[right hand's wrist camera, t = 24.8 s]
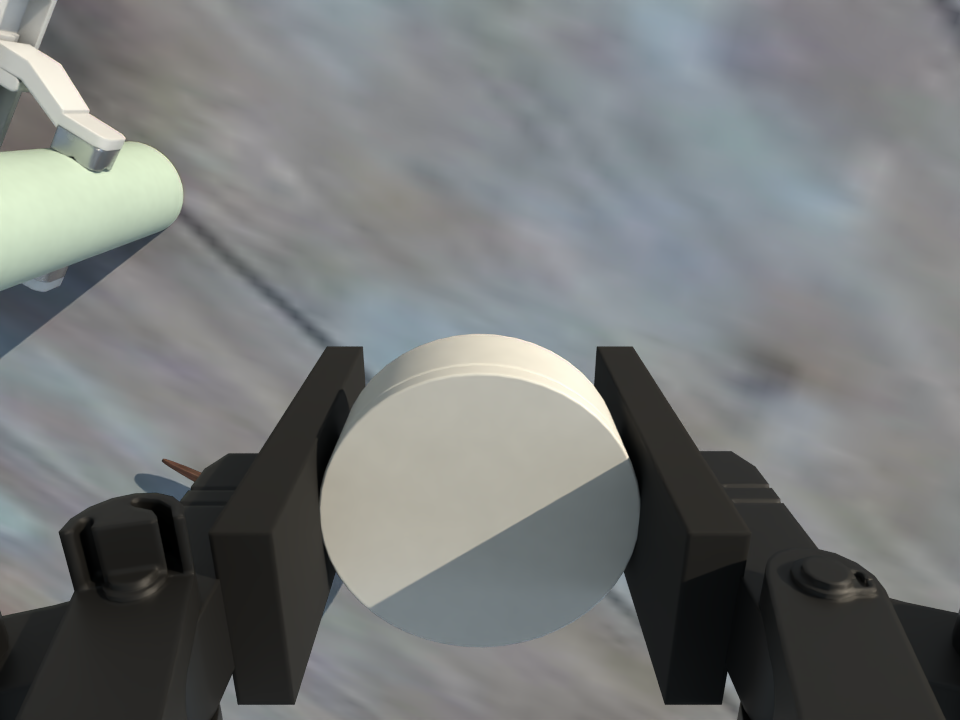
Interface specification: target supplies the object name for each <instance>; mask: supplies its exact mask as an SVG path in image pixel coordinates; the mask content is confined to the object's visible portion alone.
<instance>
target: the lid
mask: <svg viewBox="0 0 960 720" xmlns="http://www.w3.org/2000/svg"><path fill="white" fill-rule="evenodd" d="M640 503H641V499H640V492H639V486H638V481H637V478H636V475H635V471H634V468H633V465H632V463H631V460H630V458H629V456H628V454H627V451H626V449H625V446H624V444H623V442H622V439H621V437H620V435H619V432H618V430H617V428H616V425H615V423H614V421H613V418H612V416H611V414H610V412H609V410H608V408H607V406H606V404H605V402H604V400H603V398H602V397H601V396H600V394H599V393H598V391H597V390H596V388H595V387H594V385H593V384H592V383H591V382H590V381H589V380H588V379H587V378H586V377H585V376H584V375H583V374H582V373H581V372H580V371H579V370H578V369H576V368H575V367H574V366H573V365H571V364H570V363H569V362H568V361H566V360H565V359H563V358H561V357H560V356H558V355H557V354H555V353H553V352H552V351H550V350H547V349H545V348H543V347H541V346H538V345H536V344H534V343H530V342H527V341H524V340H520V339H517V338H512V337H506V336H500V335H489V334H470V335H459V336H453V337H448V338H443V339H439V340H435V341H432V342H430V343H427V344H424V345H421V346H418V347H416V348H414V349H412V350H410V351H408V352H406V353H404V354H403V355H401V356H399V357H398V358H397V359H395V360H394V361H392V362H391V363H389V364H388V365H386V366H385V367H384V368H383V369H382V370H381V371H380V372H379V373H378V374H376V375H375V376H374V377H373V378H372V379H371V381H370V382H369V383H368V384H367V385H366V387H365V388H364V389H363V390H362V392H361V393H360V395H359V396H358V398H357V400H356V401H355V403H354V404H353V406H352V409H351V411H350V413H349V416H348V418H347V420H346V422H345V425H344V427H343V430H342V432H341V434H340V437H339V439H338V441H337V444H336V446H335V448H334V451H333V453H332V455H331V458H330V460H329V462H328V465H327V467H326V469H325V472H324V476H323V480H322V484H321V488H320V497H319V511H320V521H321V531H322V538H323V543H324V546H325V548H326V551H327V554H328V557H329V559H330V561H331V563H332V565H333V567H334V569H335V570H336V572H337V574H338V576H339V577H340V579H341V580H342V581H343V583H344V584H345V585H346V587H347V588H348V590H349V591H350V592H351V593H352V594H353V595H354V596H355V597H356V598H357V599H358V600H359V601H360V602H361V603H362V604H363V605H364V606H366V607H367V608H368V609H369V610H370V611H372V612H373V613H374V614H375V615H377V616H378V617H380V618H382V619H383V620H385V621H386V622H388V623H389V624H391V625H393V626H395V627H397V628H399V629H401V630H403V631H405V632H407V633H410V634H412V635H415V636H418V637H421V638H424V639H426V640H430V641H435V642H439V643H443V644H448V645H456V646H463V647H494V646H505V645H510V644H516V643H522V642H525V641H529V640H532V639H536V638H539V637H542V636H544V635H547V634H549V633H552V632H554V631H557V630H559V629H561V628H563V627H564V626H566V625H568V624H570V623H572V622H574V621H575V620H577V619H578V618H579V617H581V616H582V615H584V614H585V613H587V612H588V611H589V610H591V609H592V608H593V607H594V606H595V605H596V604H597V603H598V602H600V601H601V600H602V599H603V598H604V597H605V596H606V594H607V593H608V592H609V591H610V590H611V589H612V587H613V586H614V585H615V584H616V582H617V581H618V579H619V578H620V576H621V575H622V573H623V572H624V570H625V568H626V566H627V564H628V562H629V560H630V558H631V556H632V553H633V550H634V547H635V544H636V541H637V536H638V526H639V517H640Z"/></svg>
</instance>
